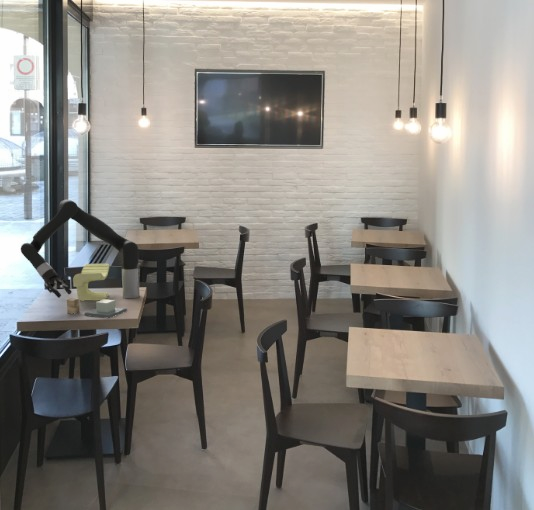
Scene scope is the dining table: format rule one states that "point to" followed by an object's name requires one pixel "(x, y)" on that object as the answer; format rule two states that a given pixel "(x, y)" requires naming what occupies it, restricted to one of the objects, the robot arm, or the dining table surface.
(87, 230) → the robot arm
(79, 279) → the slatted curved stool
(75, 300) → the oak block
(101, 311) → the tower board
